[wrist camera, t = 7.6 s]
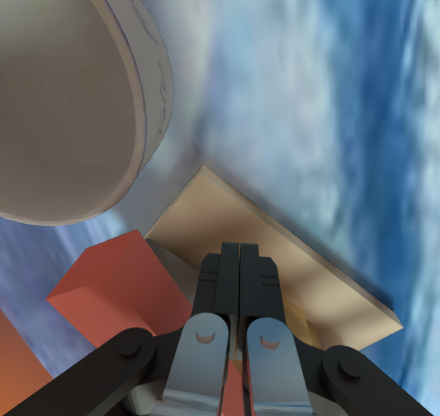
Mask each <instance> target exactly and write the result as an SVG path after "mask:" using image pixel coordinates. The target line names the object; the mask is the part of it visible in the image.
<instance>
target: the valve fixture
mask: <svg viewBox="0 0 440 416" xmlns="http://www.w3.org/2000/svg"><path fill="white" fill-rule="evenodd" d="M143 238H144V239H145V241H146V242H147V244H148V245H149V246H150V248H151V249H152V251H153V252H154V254H155V255H156V256H157V258H158V259H159V261H160V262H161V263H162V265H163V266H164V268H165V269H166V270H167V272H168V273H169V275H170V276H171V278H172V279H173V280H174V282H175V283H176V285H177V286H178V287H179V289H180V290H181V292H182V293H183V294H184V296H185V297H186V299H187V300H188V302H189V303H190V304H191V306H192V307H193V303H194V298H195V293H196V288H197V283H198V278H199V273H200V268H201V263H202V260H203V259H204V258H205V257H206V256H207V254H208V253H215V254H221V247H222V242H236V243H239V255H240V243H253V244H258V248H259V256H261V257H271V259H272V260H273V261H274V263H275V264H276V265H277V269H278V275H279V281H280V287H281V294H282V300H283V306H284V312H285V319H286V323H287V325H288V327H289V329H290V331H291V332H292V333H293V334H294V335H295V336H296V337H297V338H298V339H300V340H301V341H303V342H304V343H307V344H309V345H311V346H314V347H316V348H319V349H322V350H324V351H326V350H327V349H328V348H330V347H332V346H335V345H345V346H349V347H352V348H354V349H356V350H357V351H359V350H361V349H363V348H365V347H367V346H369V345H371V344H373V343H375V342H377V341H379V340H380V339H382V338H384V337H386V336H388V335H390V334H392V333H394V332H396V331H398V330H400V329H402V328H403V326H402V325H401V323H400V321H399V320H398V318H397V316H396V315H395V313H394V312H393V311H392V310H390V309H389V308H388V307H386V306H385V305H384V304H383V303H381V302H380V301H379V300H377V299H376V298H375V297H374V296H372V295H371V294H370V293H368V292H367V291H366V290H365V289H363V288H362V287H361V286H359V285H358V284H357V283H356V282H354V281H353V280H352V279H350V278H349V277H348V276H347V275H345V274H344V273H343V272H341V271H340V270H339V269H337V268H336V267H335V266H334V265H332V264H331V263H330V262H328V261H327V260H326V259H325V258H323V257H322V256H321V255H319V254H318V253H317V252H316V251H314V250H313V249H312V248H310V247H309V246H308V245H307V244H305V243H304V242H303V241H301V240H300V239H299V238H298V237H296V236H295V235H294V234H292V233H291V232H290V231H288V230H287V229H286V228H285V227H283V226H282V225H281V224H279V223H278V222H277V221H276V220H274V219H273V218H272V217H270V216H269V215H268V214H267V213H265V212H264V211H263V210H261V209H260V208H259V207H258V206H256V205H255V204H254V203H252V202H251V201H250V200H249V199H247V198H246V197H245V196H243V195H242V194H241V193H239V192H238V191H237V190H236V189H234V188H233V187H232V186H230V185H229V184H228V183H227V182H225V181H224V180H223V179H221V178H220V177H219V176H218V175H216V174H215V173H214V172H212V171H211V170H210V169H209V168H207V167H206V166H205V165H202V167H201V168H200V169H199V170H198V171H197V173H196V174H195V175H194V176H193V178H192V179H191V180H190V181H189V182H188V184H187V185H186V186H185V187H184V188H183V190H182V191H181V192H180V193H179V194H178V196H177V197H176V198H175V199H174V200H173V202H172V203H171V204H170V205H169V207H168V208H167V209H166V210H165V211H164V213H163V214H162V215H161V216H160V217H159V219H158V220H157V221H156V222H155V223H154V225H153V226H152V227H151V228H150V229H149V231H148V232H147V233H146V234H145V236H144V237H143ZM230 361H231V362H232V364H233V365H234V367H235V368H236V369H237V371H238V372H239V374H240V375H241V376H242V361H240V360H236V343H235V354H234V360H230Z"/></svg>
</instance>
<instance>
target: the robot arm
mask: <svg viewBox="0 0 440 416" xmlns="http://www.w3.org/2000/svg"><path fill="white" fill-rule="evenodd" d="M235 343H236V360H240V361H242V380H241V394H242V410H243V416H433V415H432V414H431V413H430V412H429V411H428V410H427V409H425V408H424V407H423V406H422V405H421V404H420V403H418V402H417V401H416V400H415V399H414V398H413V397H412V396H410V395H409V394H408V393H407V392H406V391H405V390H404V389H402V388H401V387H400V386H399V385H398V384H397V383H395V382H394V381H393V380H392V379H391V378H390V377H389V376H387V375H386V374H385V373H384V372H383V371H382V370H381V369H379V368H378V367H377V366H376V365H375V364H374V363H372V362H371V361H370V360H369V359H368V358H367V357H366V356H364V355H363V354H362V353H361V352H359V351H357V350H356V349H354V348H352V347H349V346H345V345H335V346H332V347H330V348H328V349H327V350H326V351H324V350H322V349H319V348H316V347H314V346H311V345H309V344H307V343H304V342H303V341H301V340H300V339H298V338H297V337H296V336H295V335H294V334H293V333H292V332H291V331H290V329H289V327H288V325H287V323H286V319H285V312H284V306H283V300H282V294H281V287H280V281H279V275H278V269H277V265H276V264H275V263H274V261H273V260H272V259H271V257H261V256H259V248H258V244H253V243H240V255H239V243H236V242H222V247H221V254H215V253H208V254H207V256H206V257H205V258H204V259H203V260H202V263H201V268H200V273H199V278H198V283H197V288H196V293H195V298H194V303H193V308H192V313H191V316H190V318H189V320H188V321H187V322H186V324H185V325H184V326H182V327H181V328H179V329H178V330H176V331H174V332H170V333H167V334H162V335H158V336H153V335H152V333H151V332H149V331H148V330H146V329H144V328H140V327H133V328H128V329H125V330H123V331H121V332H119V333H118V334H116V335H115V336H114V337H112V338H111V339H109V340H108V341H107V342H105V343H104V344H102V345H101V346H100V347H98V348H97V349H95V350H94V351H93V352H91V353H90V354H88V355H87V356H86V357H84V358H83V359H81V360H80V361H79V362H77V363H76V364H74V365H73V366H72V367H70V368H69V369H67V370H66V371H65V372H63V373H62V374H60V375H59V376H58V377H56V378H55V379H53V380H52V381H51V382H49V383H48V384H47V385H45V386H44V387H42V388H41V389H39V390H38V391H37V392H35V393H34V394H32V395H31V396H30V397H28V398H27V399H25V400H24V401H23V402H21V403H20V404H18V405H17V406H16V407H14V408H13V409H11V410H10V411H9V412H7V413H6V414H4V415H3V416H221V415H222V407H223V399H224V391H225V384H226V382H227V378H228V366H229V360H234V354H235Z"/></svg>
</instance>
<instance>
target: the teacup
mask: <svg viewBox="0 0 440 416" xmlns="http://www.w3.org/2000/svg"><path fill="white" fill-rule="evenodd" d="M172 106H173V77H172V70H171V65H170V61H169V56H168V53H167V50H166V47H165V44H164V42H163V39H162V37H161V34H160V32H159V30H158V28H157V26H156V24H155V22H154V21H153V19H152V17H151V15H150V13H149V12H148V10H147V9H146V7H145V6H144V5H143V3H142V2H141V0H0V217H3V218H6V219H9V220H13V221H17V222H21V223H26V224H32V225H42V226H60V225H68V224H75V223H79V222H82V221H85V220H88V219H91V218H94V217H96V216H98V215H100V214H102V213H103V212H105V211H107V210H108V209H110V208H111V207H113V206H114V205H115V204H116V203H118V202H119V201H120V200H121V198H122V197H123V196H124V195H125V194H126V193H127V191H128V190H129V189H130V188H131V186H132V185H133V183H134V181H135V180H136V178H137V176H138V174H139V172H140V171H141V170H142V169H143V167H144V166H145V165H146V163H147V162H148V161H149V159H150V158H151V157H152V155H153V154H154V152H155V151H156V149H157V148H158V146H159V144H160V143H161V141H162V139H163V137H164V135H165V132H166V130H167V127H168V124H169V121H170V117H171V112H172Z"/></svg>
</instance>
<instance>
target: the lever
mask: <svg viewBox="0 0 440 416" xmlns="http://www.w3.org/2000/svg"><path fill="white" fill-rule="evenodd" d="M46 300H47V301H48V302H49V303H50V304H51V305H52V306H53V307H54V308H55V309H56V310H57V311H58V312H59V313H61V314H62V315H63V316H64V317H65V318H66V319H67V320H68V321H69V322H70V323H71V324H72V325H73V326H74V327H75V328H76V329H77V330H78V331H79V332H80V333H81V334H82V335H83V336H84V337H86V338H87V339H88V340H89V341H90V342H91V343H92V344H93V345H94V346H95V347H96V348H98V347H100V346H101V345H102V344H104V343H105V342H107V341H108V340H109V339H111V338H112V337H114V336H115V335H116V334H118V333H119V332H121V331H123V330H125V329H128V328H133V327H140V328H144V329H146V330H148V331H149V332H151V333H152V335H153V336H158V335H162V334H167V333H170V332H174V331H176V330H178V329H179V328H181V327H182V326H184V325H185V324H186V322H187V321H188V320H189V318H190V316H191V313H192V308H193V307H192V306H191V304H190V303H189V302H188V300H187V299H186V297H185V296H184V294H183V293H182V292H181V290H180V289H179V287H178V286H177V285H176V283H175V282H174V280H173V279H172V278H171V276H170V275H169V273H168V272H167V270H166V269H165V268H164V266H163V265H162V263H161V262H160V261H159V259H158V258H157V256H156V255H155V254H154V252H153V251H152V249H151V248H150V246H149V245H148V244H147V242H146V241H145V239H144V238H143V237H142V235H141V234H140V232H139V231H138V230H134V231H131V232H129V233H126V234H123V235H121V236H118V237H115V238H113V239H110V240H108V241H105V242H102V243H100V244H97V245H94V246H92V247H89V248H86V249H85V251H84V252H83V253H82V254H81V256H80V257H79V258H78V259H77V261H76V262H75V263H74V264H73V266H72V267H71V268H70V269H69V271H68V272H67V273H66V274H65V276H64V277H63V278H62V279H61V280H60V282H59V283H58V284H57V285H56V287H55V288H54V289H53V290H52V292H51V293H50V294H49V295H48V297H47V298H46ZM241 380H242V376H241V375H240V374H239V372H238V371H237V369H236V368H235V367H234V365H233V364H232V362H231V361H230V360H229V366H228V378H227V382H226V384H225V391H224V399H223V407H222V415H221V416H243V410H242V394H241Z"/></svg>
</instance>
